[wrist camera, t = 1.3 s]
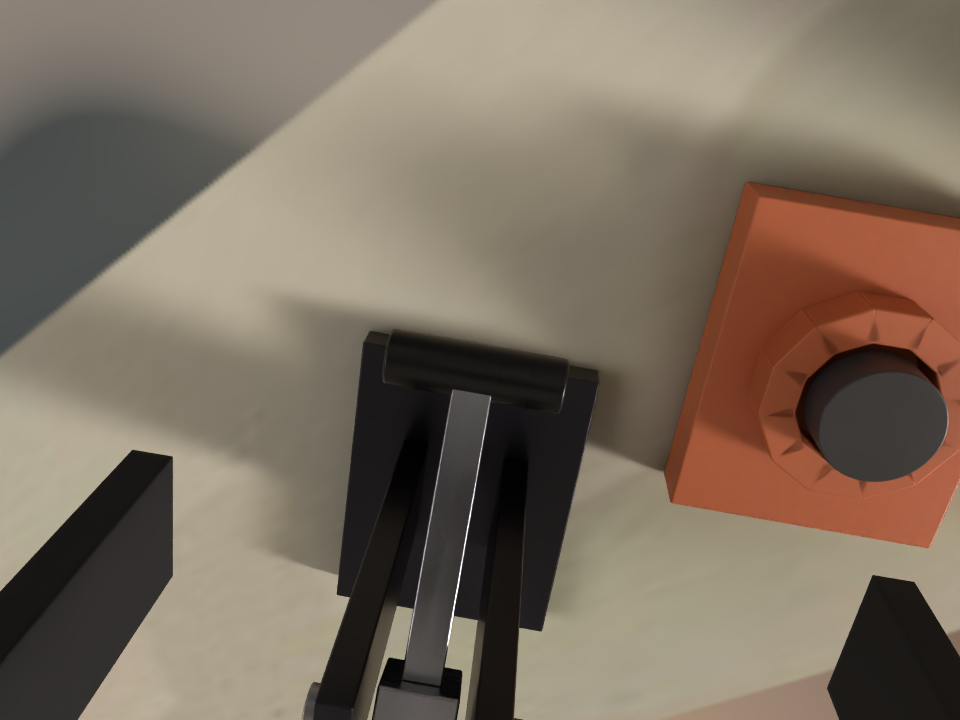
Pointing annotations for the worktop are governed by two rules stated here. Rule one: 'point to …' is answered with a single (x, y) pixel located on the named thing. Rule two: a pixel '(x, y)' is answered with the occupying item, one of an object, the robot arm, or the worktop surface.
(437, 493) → the lever
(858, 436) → the button
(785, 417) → the button block
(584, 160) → the worktop surface
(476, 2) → the worktop surface
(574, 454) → the bracket
